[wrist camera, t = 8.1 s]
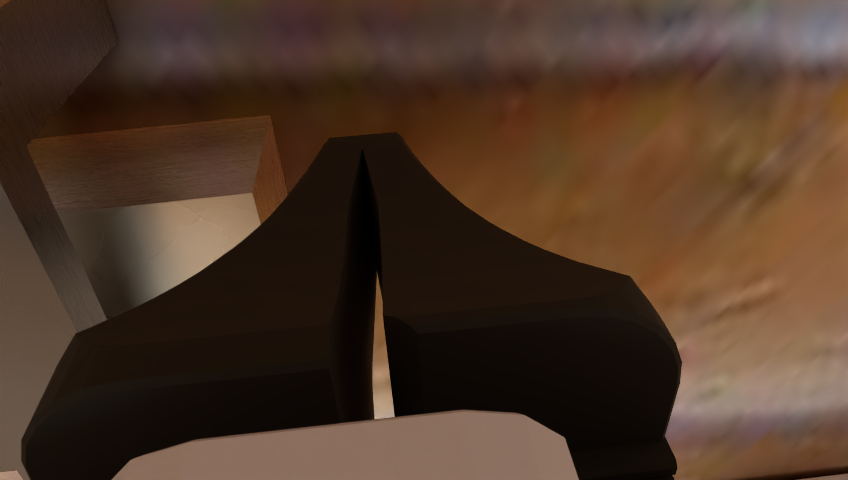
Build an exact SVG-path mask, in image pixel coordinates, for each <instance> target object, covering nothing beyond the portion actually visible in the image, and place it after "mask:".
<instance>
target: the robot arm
mask: <svg viewBox="0 0 848 480" xmlns="http://www.w3.org/2000/svg"><path fill="white" fill-rule="evenodd" d="M377 274H378V279H379V284H380V289H381V294H382V300H383V320H384V329H385V337H386V346H387V354H388V363H389V371H390V380H391V388H392V397H393V405H394V414H395V417H392V418H383V419H374V405H373V387H372V361H373V341H374V321H375V300H376V278H377ZM681 366H682V361H681V358H680V355H679V352H678V349H677V346H676V343H675V341H674V339H673V338H672V336H671V334H670V332H669V331H668V329H667V327H666V326H665V324H664V322H663V321H662V319H661V317H660V316H659V314H658V313H657V312H656V310H655V309H654V307H653V306H652V304H651V303H650V301H649V300H648V299H647V298H646V296H645V295H644V294H643V293H642V291H641V290H640V289H639V288H638V287H637V285H636V284H635V282H634V281H633V279H632V278H631V277H630V276H627V275H624V274H620V273H616V272H613V271H609V270H605V269H602V268H598V267H594V266H591V265H587V264H584V263H580V262H577V261H574V260H571V259H568V258H565V257H563V256H560V255H557V254H555V253H552V252H549V251H547V250H544V249H542V248H539V247H537V246H535V245H532V244H530V243H528V242H526V241H523V240H522V239H520V238H518V237H516V236H514V235H512V234H510V233H508V232H506V231H504V230H502V229H500V228H499V227H497V226H495V225H493V224H492V223H490V222H488V221H487V220H485V219H484V218H482V217H481V216H479V215H478V214H476V213H475V212H473V211H472V210H470V209H469V208H467V207H466V206H465V205H464V204H462V203H461V202H460V201H459V200H458V199H456V198H455V197H454V196H453V195H452V194H451V193H450V192H448V191H447V190H446V189H445V188H444V187H443V186H442V185H441V184H440V183H439V182H438V181H437V180H436V179H435V178H434V177H433V176H432V175H431V174H430V173H429V171H428V170H427V169H426V168H425V167H424V166H423V165H422V164H421V163H420V161H419V160H418V159H417V158H416V156H415V155H414V154H413V153H412V151H411V150H410V149H409V147H408V146H407V144H406V143H405V141H404V140H403V138H402V137H401V136H400V135H399V134H398V133H396V132H394V133H383V134H371V135H360V136H349V137H337V138H329V139H328V141H327V142H326V143H325V144H324V146H323V147H322V149H321V150H320V152H319V153H318V155H317V156H316V158H315V160H314V161H313V162H312V164H311V165H310V167H309V168H308V170H307V171H306V173H305V174H304V175H303V177H302V178H301V179H300V180H299V182H298V183H297V184H296V186H295V187H294V188H293V190H292V191H291V192H290V193H289V195H288V196H287V197H286V198H285V199H284V200H283V202H282V203H281V204H280V205H279V206H278V207H277V208H276V209H275V211H274V212H273V213H272V214H271V215H270V216H269V217H268V218H267V219H266V220H265V221H264V222H263V223H262V224H261V225H260V226H259V227H258V228H256V229H255V230H254V231H253V232H252V233H251V234H249V235H248V236H247V237H246V238H245V239H244V240H243V241H241V242H240V243H239V244H238V245H236V246H235V247H234V248H232V249H231V250H229V251H228V252H227V253H225V254H224V255H222V256H221V257H220V258H218V259H217V260H215V261H214V262H213V263H211V264H210V265H208V266H207V267H205V268H204V269H203V270H201V271H200V272H198V273H197V274H195V275H193V276H192V277H190V278H188V279H187V280H185V281H183V282H182V283H180V284H178V285H177V286H175V287H173V288H171V289H169V290H168V291H166V292H164V293H162V294H160V295H158V296H157V297H155V298H153V299H151V300H149V301H147V302H145V303H143V304H141V305H139V306H137V307H135V308H132V309H130V310H128V311H126V312H123V313H121V314H119V315H117V316H115V317H112V318H110V319H108V320H106V321H103V322H101V323H99V324H97V325H94V326H92V327H90V328H87V329H85V330H82V331H80V332H78V333H76V334H75V335H74V337H73V339H72V340H71V342H70V344H69V345H68V347H67V349H66V350H65V352H64V354H63V356H62V357H61V359H60V361H59V362H58V364H57V366H56V368H55V371H54V373H53V375H52V377H51V379H50V381H49V383H48V385H47V387H46V390H45V392H44V394H43V396H42V398H41V400H40V402H39V404H38V406H37V408H36V410H35V412H34V414H33V416H32V418H31V421H30V423H29V425H28V427H27V429H26V431H25V433H24V435H23V437H22V439H21V462H22V464H23V466H24V468H25V470H26V472H27V474H28V477H29V479H30V480H674V478H673V476H672V475H675V474H676V471H677V463H676V459H675V457H674V455H673V452H672V450H671V448H670V446H669V444H668V442H667V440H666V438H665V433H666V430H667V426H668V423H669V419H670V416H671V412H672V409H673V405H674V402H675V398H676V395H677V391H678V388H679V384H680V377H681ZM797 480H848V474H839V475H831V476H822V477H814V478H806V479H797Z"/></svg>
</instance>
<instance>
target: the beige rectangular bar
mask: <svg viewBox="0 0 848 480" xmlns="http://www.w3.org/2000/svg"><path fill="white" fill-rule="evenodd" d="M26 147H27V149H28V151H29V153H30V155H31V158H32V160H33V162H34V164H35V166H36V168H37V170H38V173H39V175H40V177H41V179H42V181H43V183H44V185H45V188H46V190H47V192H48V194H49V196H50V198H51V200H52V203H53V205H54V207H55V209H56V211H57V213H58V215H59V218H60V220H61V222H62V224H63V226H64V228H65V230H66V233H67V235H68V237H69V239H70V241H71V243H72V245H73V248H74V250H75V252H76V254H77V256H78V258H79V260H80V263H81V265H82V267H83V269H84V271H85V273H86V275H87V278H88V280H89V282H90V284H91V286H92V288H93V290H94V293H95V295H96V297H97V299H98V301H99V303H100V306H101V308H102V310H103V312H104V314H105V316H106V318H107V320H108V319H110V318H112V317H115V316H117V315H119V314H121V313H123V312H126V311H128V310H130V309H132V308H135V307H137V306H139V305H141V304H143V303H145V302H147V301H149V300H151V299H153V298H155V297H157V296H158V295H160V294H162V293H164V292H166V291H168V290H169V289H171V288H173V287H175V286H177V285H178V284H180V283H182V282H183V281H185V280H187V279H188V278H190V277H192V276H193V275H195V274H197V273H198V272H200V271H201V270H203V269H204V268H205V267H207V266H208V265H210V264H211V263H213V262H214V261H215V260H217V259H218V258H220V257H221V256H222V255H224V254H225V253H227V252H228V251H229V250H231V249H232V248H234V247H235V246H236V245H238V244H239V243H240V242H241V241H243V240H244V239H245V238H246V237H247V236H248V235H249V234H251V233H252V232H253V231H254V230H255V229H256V228H258V227H259V226H260V225H261V224H262V223H263V222H264V221H265V220H266V219H267V218H268V217H269V216H270V215H271V214H272V213H273V212H274V211H275V209H276V208H277V207H278V206H279V205H280V204H281V203H282V202H283V200H284V199H285V198H286V197H287V196H288V193H287V189H286V184H285V180H284V175H283V171H282V167H281V162H280V158H279V153H278V149H277V145H276V140H275V136H274V131H273V127H272V122H271V118H270V115H263V116H253V117H243V118H233V119H223V120H213V121H203V122H193V123H184V124H174V125H164V126H154V127H144V128H134V129H124V130H114V131H104V132H94V133H85V134H75V135H65V136H55V137H45V138H35V139H32V140H31V142H30V143H29V144H28V145H27V146H26Z"/></svg>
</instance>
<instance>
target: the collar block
mask: <svg viewBox="0 0 848 480" xmlns="http://www.w3.org/2000/svg"><path fill="white" fill-rule="evenodd" d="M117 42H118V39H117V36H116V33H115V30H114V27H113V24H112V21H111V18H110V15H109V12H108V9H107V6H106V3H105V0H0V472H6V471H15V470H17V471H18V473H19V474H20V475H21V477H22V478H23V480H30V479H29V477H28V474H27V472H26V470H25V468H24V466H23V464H22V462H21V439H22V437H23V435H24V433H25V431H26V429H27V427H28V425H29V423H30V421H31V418H32V416H33V414H34V412H35V410H36V408H37V406H38V404H39V402H40V400H41V398H42V396H43V394H44V392H45V390H46V387H47V385H48V383H49V381H50V379H51V377H52V375H53V373H54V371H55V368H56V366H57V364H58V362H59V361H60V359H61V357H62V356H63V354H64V352H65V350H66V349H67V347H68V345H69V344H70V342H71V340H72V339H73V337H74V335H75V334H76V333H78V332H80V331H82V330H85V329H87V328H90V327H92V326H94V325H97V324H99V323H101V322H103V321H106V320H107V318H106V316H105V314H104V312H103V310H102V308H101V306H100V303H99V301H98V299H97V297H96V295H95V293H94V290H93V288H92V286H91V284H90V282H89V280H88V278H87V275H86V273H85V271H84V269H83V267H82V265H81V263H80V260H79V258H78V256H77V254H76V252H75V250H74V248H73V245H72V243H71V241H70V239H69V237H68V235H67V233H66V230H65V228H64V226H63V224H62V222H61V220H60V218H59V215H58V213H57V211H56V209H55V207H54V205H53V203H52V200H51V198H50V196H49V194H48V192H47V190H46V188H45V185H44V183H43V181H42V179H41V177H40V175H39V173H38V170H37V168H36V166H35V164H34V162H33V160H32V158H31V155H30V153H29V151H28V149H27V147H26V146H27V145H28V144H29V143H30V142H31V140H32V139H33V138H34V137H35V136H36V135H37V134H38V132H39V131H40V130H41V129H42V128H43V127H44V126H45V124H46V123H47V122H48V121H49V120H50V119H51V117H52V116H53V115H54V114H55V113H56V112H57V111H58V109H59V108H60V107H61V106H62V105H63V104H64V103H65V101H66V100H67V99H68V98H69V97H70V96H71V95H72V93H73V92H74V91H75V90H76V89H77V88H78V87H79V85H80V84H81V83H82V82H83V81H84V80H85V79H86V77H87V76H88V75H89V74H90V73H91V72H92V70H93V69H94V68H95V67H96V66H97V65H98V64H99V62H100V61H101V60H102V59H103V58H104V57H105V56H106V54H107V53H108V52H109V51H110V50H111V49H112V48H113V46H114V45H115V44H116V43H117Z"/></svg>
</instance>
